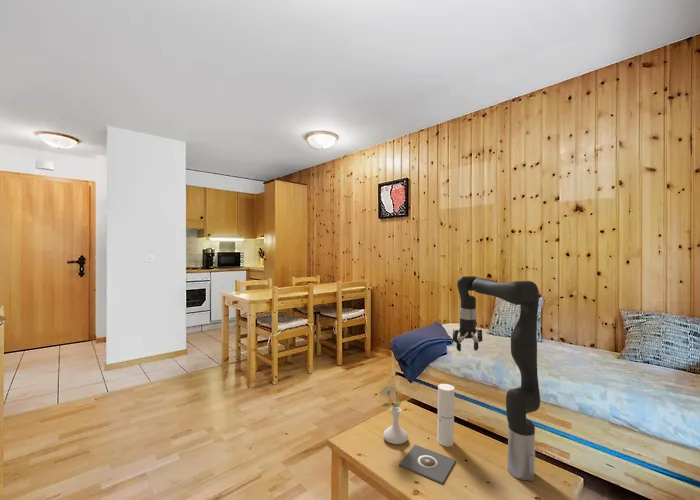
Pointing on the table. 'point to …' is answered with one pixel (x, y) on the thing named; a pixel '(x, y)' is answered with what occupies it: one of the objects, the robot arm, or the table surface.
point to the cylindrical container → (445, 415)
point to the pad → (428, 463)
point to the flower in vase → (395, 431)
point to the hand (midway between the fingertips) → (467, 350)
